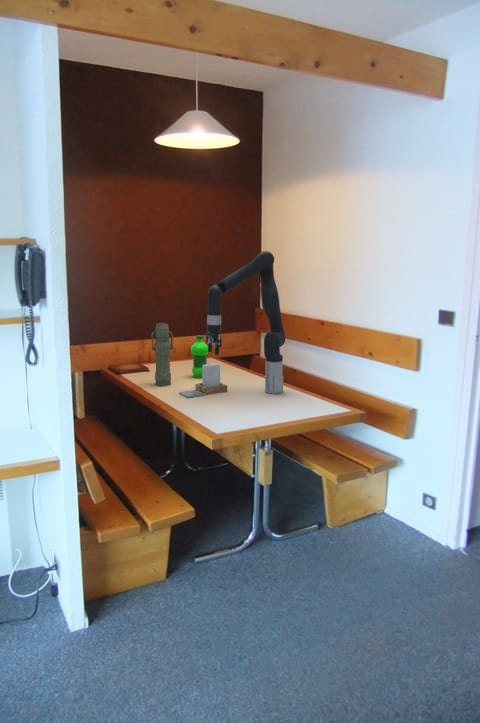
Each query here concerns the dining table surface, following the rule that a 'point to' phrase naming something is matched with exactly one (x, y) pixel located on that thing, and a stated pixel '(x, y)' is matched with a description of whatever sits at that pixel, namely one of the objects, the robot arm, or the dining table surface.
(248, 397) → the dining table surface
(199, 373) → the plastic bottle
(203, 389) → the wooden crate
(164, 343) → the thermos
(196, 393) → the slate pad
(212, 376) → the skincare box
